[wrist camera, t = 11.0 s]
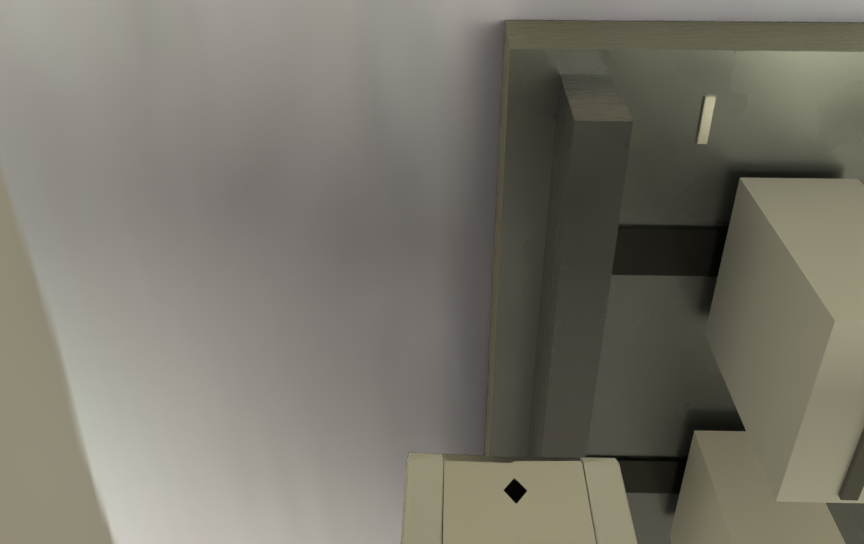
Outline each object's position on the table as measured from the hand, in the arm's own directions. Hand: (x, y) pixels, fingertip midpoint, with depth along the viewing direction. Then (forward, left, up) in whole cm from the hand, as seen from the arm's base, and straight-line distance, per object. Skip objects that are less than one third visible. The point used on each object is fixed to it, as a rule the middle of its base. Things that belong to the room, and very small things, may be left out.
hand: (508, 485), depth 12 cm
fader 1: (-6, 0, -7) cm, 9 cm away
